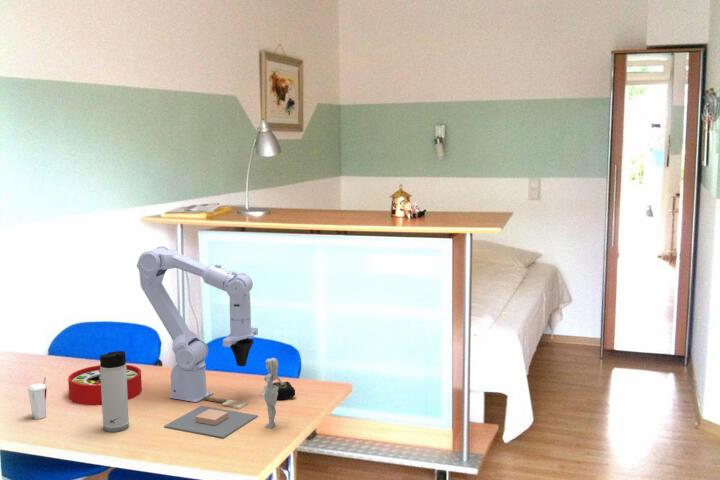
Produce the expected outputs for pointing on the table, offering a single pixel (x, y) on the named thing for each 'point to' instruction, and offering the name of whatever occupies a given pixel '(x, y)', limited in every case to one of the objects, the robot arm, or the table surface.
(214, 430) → the mat
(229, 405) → the turner
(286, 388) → the tape measure
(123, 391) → the travel mug
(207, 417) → the tile
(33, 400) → the milkshake
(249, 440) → the table surface
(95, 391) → the toy clock
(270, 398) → the human figurine
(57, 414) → the table surface
